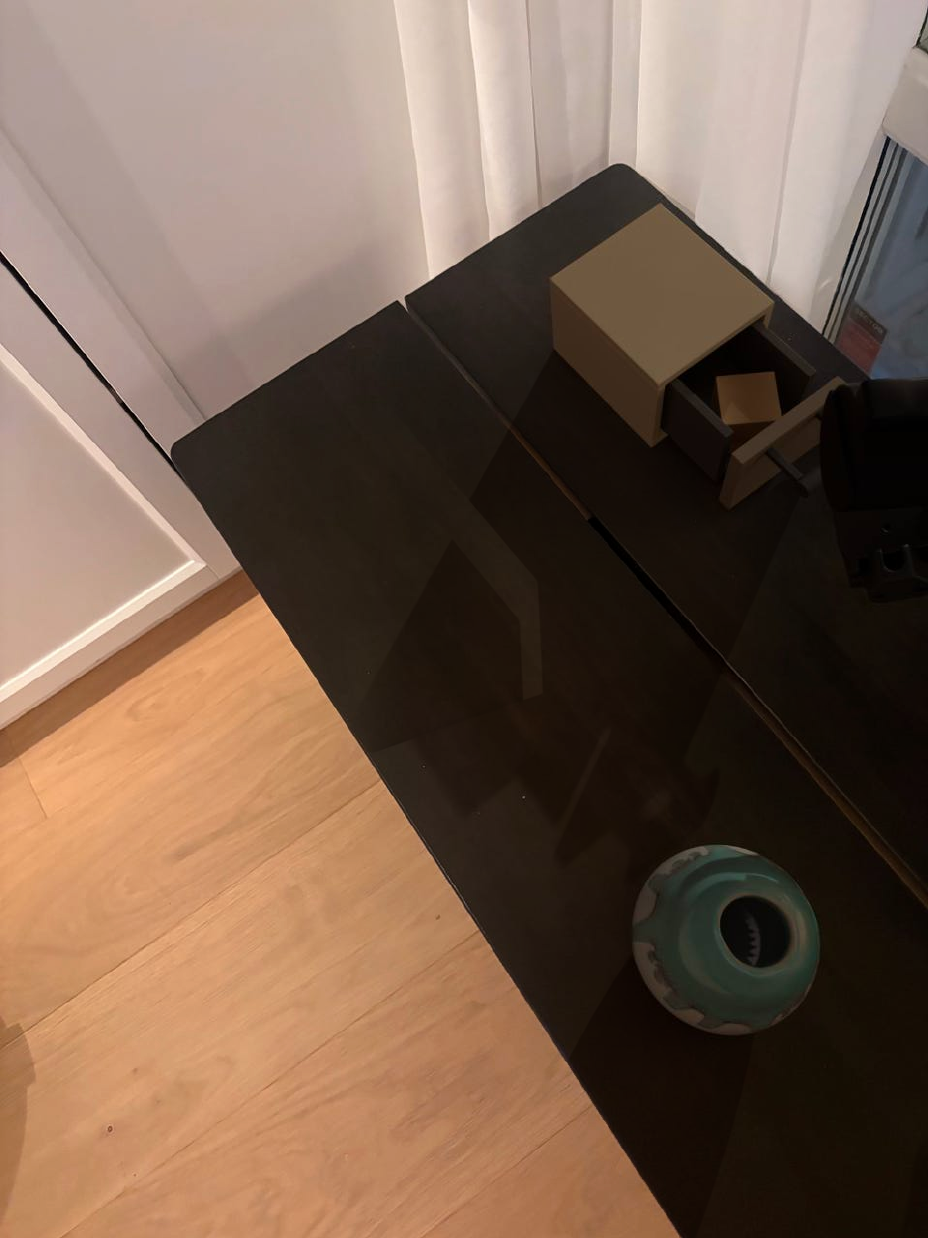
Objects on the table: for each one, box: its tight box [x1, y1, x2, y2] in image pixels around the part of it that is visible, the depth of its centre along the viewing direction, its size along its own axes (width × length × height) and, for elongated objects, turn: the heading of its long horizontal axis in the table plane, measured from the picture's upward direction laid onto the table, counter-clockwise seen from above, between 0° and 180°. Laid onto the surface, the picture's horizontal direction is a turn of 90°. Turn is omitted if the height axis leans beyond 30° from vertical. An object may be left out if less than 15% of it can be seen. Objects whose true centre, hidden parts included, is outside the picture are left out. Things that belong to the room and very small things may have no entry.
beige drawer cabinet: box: [548, 202, 775, 448], centre depth 77 cm, size 14×12×9 cm
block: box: [709, 371, 782, 454], centre depth 73 cm, size 4×4×4 cm
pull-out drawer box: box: [660, 320, 847, 510], centre depth 72 cm, size 17×10×7 cm, turn 36°
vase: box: [630, 844, 821, 1036], centre depth 55 cm, size 12×12×18 cm
